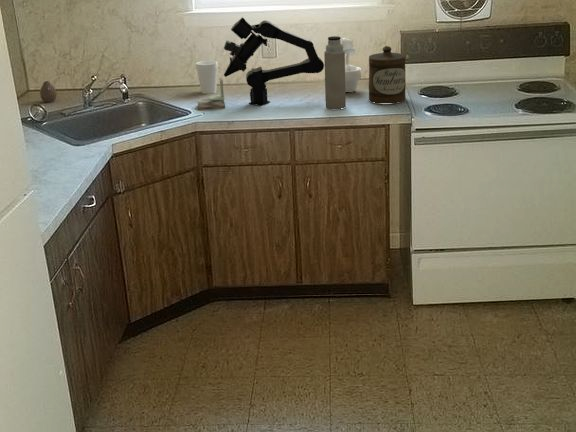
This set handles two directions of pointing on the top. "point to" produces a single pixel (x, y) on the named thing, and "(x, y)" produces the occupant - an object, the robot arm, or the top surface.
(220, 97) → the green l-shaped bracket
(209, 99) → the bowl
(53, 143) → the top surface
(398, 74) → the wooden container
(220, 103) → the station
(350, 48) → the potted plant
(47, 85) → the avocado
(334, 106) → the thermos bottle
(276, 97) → the top surface
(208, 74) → the foam cup
